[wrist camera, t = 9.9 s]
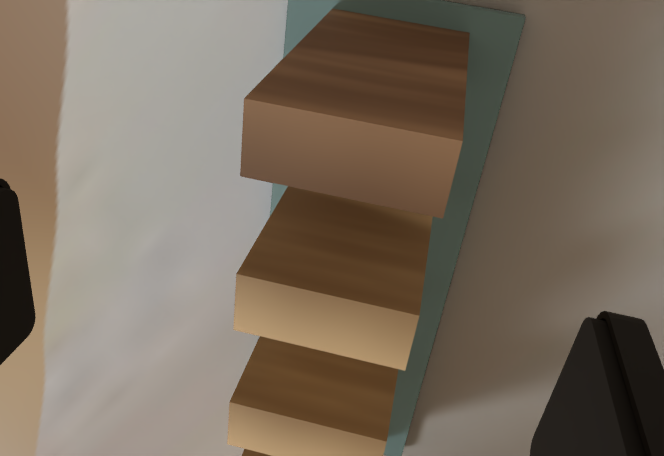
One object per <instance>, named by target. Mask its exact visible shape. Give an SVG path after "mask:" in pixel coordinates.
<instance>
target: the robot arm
mask: <svg viewBox="0 0 664 456" xmlns="http://www.w3.org/2000/svg"><path fill="white" fill-rule="evenodd" d="M34 323H35V309H34V303H33V296H32V289H31V282H30V276H29V269H28V262H27V256H26V249H25V242H24V235H23V229H22V222H21V215H20V209H19V202H18V197H17V195H16V193H15V192H14V191H12V190H11V189H10V186H9V185H8V183H7V182H6V181H5V180H3V179H0V365H1V364H2V363H3V362H4V361H5V360H6V358H7V357H9V356H10V354H11V353H12V352H13V351H14V350H15V349H16V348H17V347H18V346H19V345H20V344H21V343H22V342H23V341H24V340H25V339H26V338H27V337H28V335H29V334H30V333H31V331H32V329H33V326H34ZM530 456H664V369H663V366H662V364H661V361H660V358H659V356H658V353H657V351H656V348H655V345H654V343H653V340H652V337H651V335H650V332H649V330H648V327H647V325H646V323H645V321H644V320H642V319H639V318H634V317H630V316H625V315H620V314H616V313H611V312H607V311H603V312H601V313H600V314H599V315H598V317H597V318H596V319H594V318H590V317H588V318H586V319H585V320H584V321H583V323H582V325H581V328H580V330H579V332H578V335H577V337H576V339H575V341H574V344H573V346H572V348H571V351H570V353H569V355H568V358H567V360H566V362H565V365H564V367H563V369H562V371H561V374H560V376H559V378H558V381H557V383H556V385H555V388H554V390H553V392H552V395H551V397H550V399H549V402H548V404H547V406H546V408H545V411H544V413H543V415H542V418H541V420H540V422H539V425H538V427H537V429H536V432H535V434H534V436H533V439H532V443H531V449H530Z"/></svg>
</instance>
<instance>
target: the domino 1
mask: <svg viewBox="0 0 664 456" xmlns="http://www.w3.org/2000/svg"><path fill="white" fill-rule="evenodd" d="M469 35H470V33H468V32H463V31H457V30H452V29H446V28H440V27H435V26H429V25H423V24H418V23H412V22H406V21H401V20H395V19H389V18H384V17H378V16H372V15H367V14H361V13H355V12H350V11H344V10H338V9H333V8H332V9H331V10H330V11H329V12H328V13H327V14H326V15H325V16H324V17H323V18H322V20H321V21H320V22H319V23H318V24H317V25H316V26H315V27H314V28H313V29H312V30H311V31H310V32H309V33H308V34H307V35H306V36H305V37H304V38H303V39H302V40H301V41H300V42H299V43H298V44H297V45H296V46H295V47H294V48H293V49H292V50H291V51H290V52H289V53H288V54H287V55H286V56H285V57H284V58H283V59H282V60H281V61H280V62H279V63H278V64H277V65H276V67H275V68H274V69H273V70H272V71H271V72H270V73H269V74H268V75H267V76H266V77H265V78H264V79H263V80H262V81H261V82H260V83H259V84H258V85H257V86H256V87H255V88H254V89H253V90H252V91H251V92H250V93H249V94H248V95H247V96H246V97H245V98H244V113H243V133H242V152H241V172H240V176H242V177H247V178H252V179H256V180H261V181H266V182H271V183H275V184H280V185H285V186H290V187H294V188H299V189H304V190H309V191H314V192H318V193H323V194H328V195H333V196H337V197H342V198H347V199H352V200H356V201H361V202H366V203H371V204H375V205H380V206H385V207H390V208H395V209H399V210H404V211H409V212H414V213H418V214H423V215H428V216H433V217H437V218H442V219H443V217H444V213H445V209H446V205H447V201H448V197H449V193H450V189H451V185H452V182H453V178H454V174H455V170H456V166H457V162H458V158H459V154H460V150H461V146H462V142H463V131H464V115H465V99H466V83H467V67H468V51H469Z"/></svg>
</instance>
